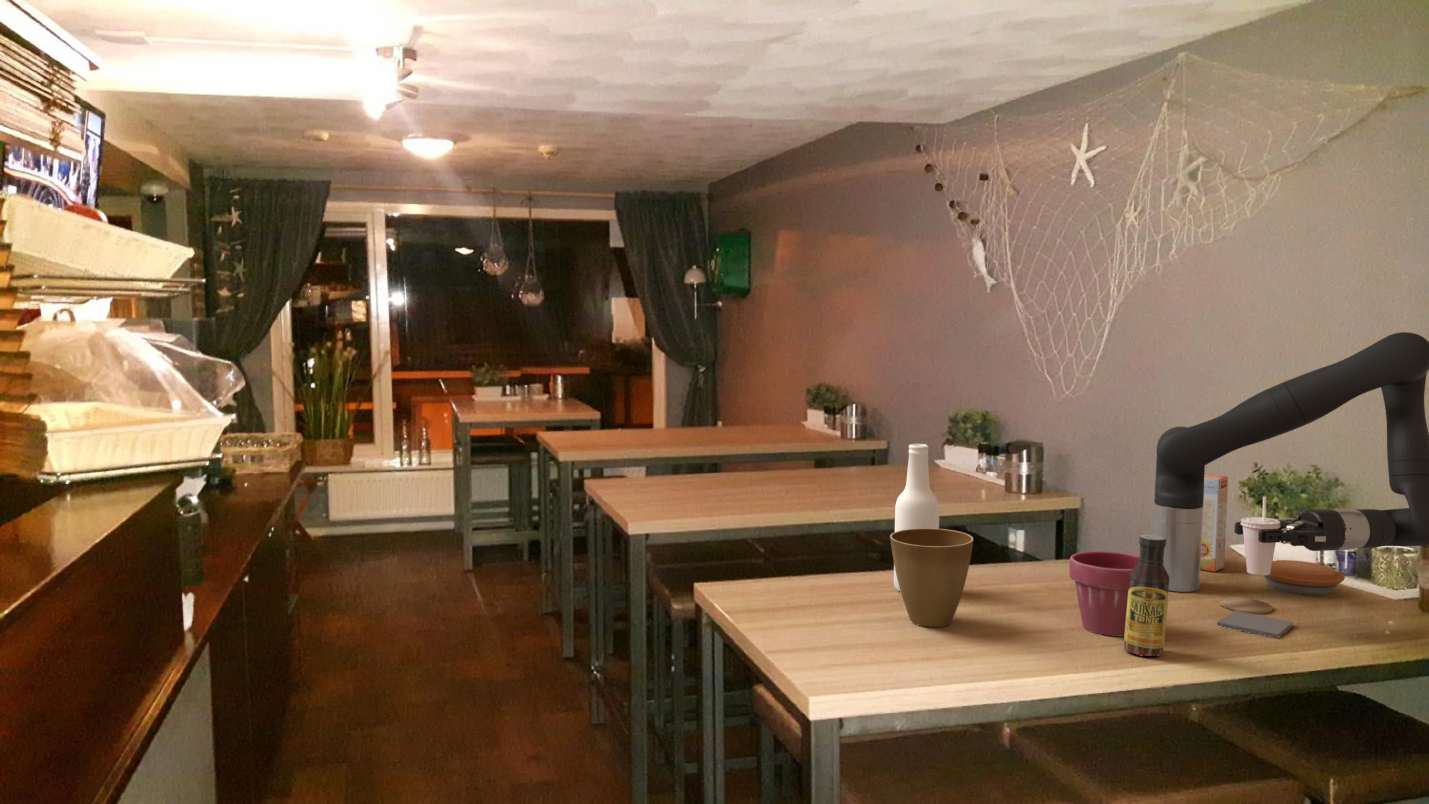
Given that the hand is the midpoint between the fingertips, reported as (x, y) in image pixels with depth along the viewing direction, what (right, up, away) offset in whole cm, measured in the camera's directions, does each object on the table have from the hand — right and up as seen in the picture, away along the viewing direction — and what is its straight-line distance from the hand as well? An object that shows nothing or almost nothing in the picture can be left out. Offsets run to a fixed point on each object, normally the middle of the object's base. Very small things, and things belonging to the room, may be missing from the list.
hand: (1247, 532), depth 185 cm
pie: (+25, -15, +28) cm, 41 cm away
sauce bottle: (-24, -19, -13) cm, 33 cm away
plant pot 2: (-25, -18, 0) cm, 31 cm away
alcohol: (-55, -15, +25) cm, 62 cm away
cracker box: (+11, -14, +47) cm, 50 cm away
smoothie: (+2, -8, +1) cm, 8 cm away
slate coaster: (+2, -17, +2) cm, 18 cm away
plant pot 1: (-57, -17, +4) cm, 59 cm away
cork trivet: (+7, -16, +14) cm, 23 cm away
